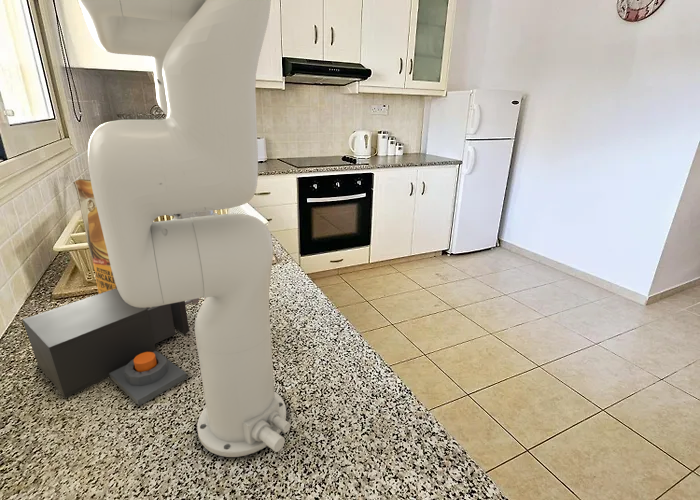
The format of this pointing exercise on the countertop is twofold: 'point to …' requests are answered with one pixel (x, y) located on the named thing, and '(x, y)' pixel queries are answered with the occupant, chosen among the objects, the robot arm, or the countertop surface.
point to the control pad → (147, 379)
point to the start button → (145, 361)
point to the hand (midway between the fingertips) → (204, 289)
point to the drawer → (169, 319)
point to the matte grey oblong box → (88, 339)
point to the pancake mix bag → (95, 236)
